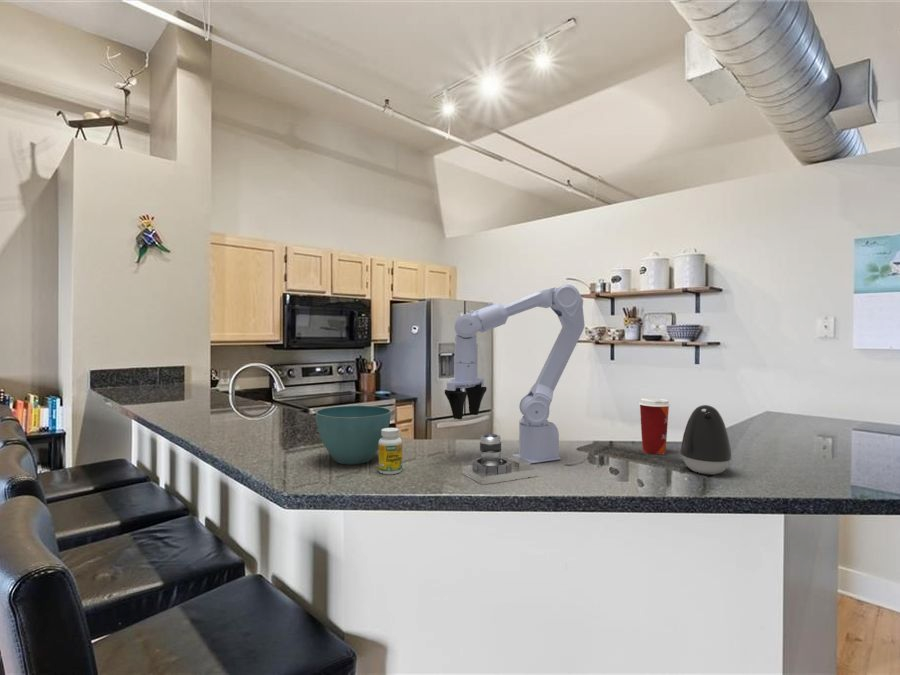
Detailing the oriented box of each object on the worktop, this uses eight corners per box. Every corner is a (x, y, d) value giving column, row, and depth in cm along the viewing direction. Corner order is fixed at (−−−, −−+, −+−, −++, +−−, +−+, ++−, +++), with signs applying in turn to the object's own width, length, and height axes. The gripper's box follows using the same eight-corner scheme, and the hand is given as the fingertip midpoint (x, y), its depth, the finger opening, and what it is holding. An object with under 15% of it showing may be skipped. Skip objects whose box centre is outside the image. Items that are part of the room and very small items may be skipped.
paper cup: (674, 455, 125) (675, 401, 125) (644, 455, 125) (645, 401, 125) (662, 448, 133) (662, 397, 132) (633, 448, 133) (634, 397, 132)
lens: (505, 467, 108) (504, 434, 108) (495, 471, 104) (494, 438, 104) (487, 464, 110) (486, 432, 110) (476, 469, 106) (475, 436, 106)
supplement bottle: (395, 466, 114) (395, 426, 114) (406, 472, 109) (406, 430, 109) (374, 470, 111) (374, 428, 111) (384, 476, 106) (384, 432, 106)
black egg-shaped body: (683, 475, 108) (684, 407, 107) (678, 463, 117) (679, 400, 117) (735, 480, 104) (736, 409, 104) (726, 467, 114) (727, 403, 114)
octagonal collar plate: (514, 466, 115) (514, 452, 115) (537, 476, 107) (537, 461, 107) (462, 473, 109) (462, 459, 109) (482, 484, 101) (482, 469, 100)
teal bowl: (383, 449, 131) (383, 403, 131) (397, 466, 114) (397, 414, 114) (313, 454, 125) (313, 406, 125) (317, 473, 108) (317, 418, 108)
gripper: (467, 360, 130) (467, 411, 130) (436, 363, 118) (436, 419, 118) (490, 361, 126) (490, 413, 126) (460, 364, 114) (460, 422, 114)
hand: (466, 416), depth 122 cm, fingers open, 7 cm apart
